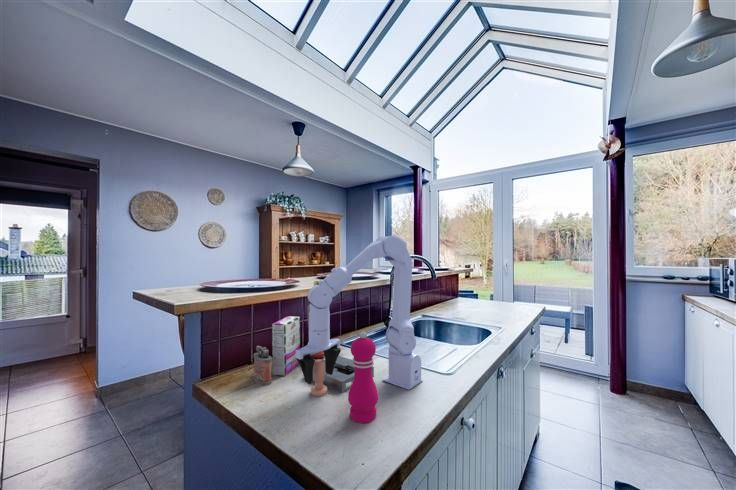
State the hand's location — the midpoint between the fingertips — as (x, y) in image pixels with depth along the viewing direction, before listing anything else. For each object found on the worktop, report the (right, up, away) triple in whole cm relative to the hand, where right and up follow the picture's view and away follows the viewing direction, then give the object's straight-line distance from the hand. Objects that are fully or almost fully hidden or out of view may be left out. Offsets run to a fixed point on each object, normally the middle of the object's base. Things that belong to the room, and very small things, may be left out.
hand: (319, 378), depth 82 cm
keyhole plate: (+5, -4, +10) cm, 12 cm away
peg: (0, -4, 0) cm, 4 cm away
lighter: (-18, -4, +7) cm, 20 cm away
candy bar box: (-14, -5, +16) cm, 22 cm away
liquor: (-5, -5, +28) cm, 29 cm away
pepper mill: (+12, -4, -12) cm, 18 cm away
